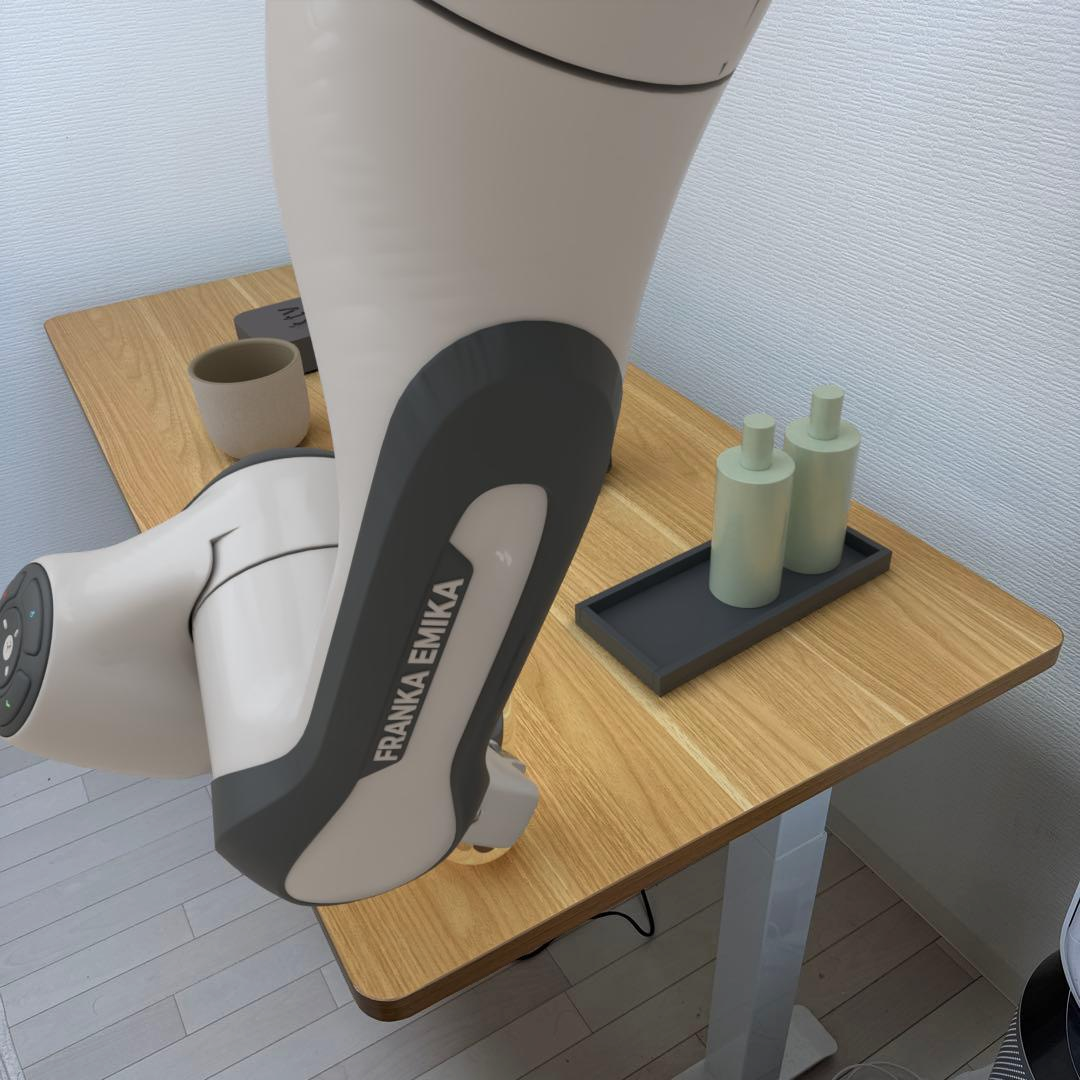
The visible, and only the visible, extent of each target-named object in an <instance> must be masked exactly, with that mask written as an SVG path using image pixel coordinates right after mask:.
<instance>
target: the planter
mask: <svg viewBox="0 0 1080 1080" xmlns="http://www.w3.org/2000/svg"><path fill="white" fill-rule="evenodd" d="M187 374H188V379H189V382H190V385H191V389H192V392H193V394H194V398H195V401H196V405H197V409H198V411H199V416H200V418H201V421H202V423H203V427H204V430H205V431H206V434H207V435H208V437H209V438H210V440H211V442H212V443H213V445H215V447H216V448H217V449H218V450H219V451H221V452H222V453H224V454H225V455H227V456H228V457H230V458H234V459H237V460H241V459H243V458H245V457H247V456H249V455H252V454H254V453H257V452H260V451H265V450H269V449H276V448H288V447H298V445H300V444H301V442H302V441H303V440H304V438H305V437H306V435H307V433H308V430H309V427H310V423H311V404H310V398H309V392H308V387H307V382H306V377H305V373H304V371H303V366H302V360H301V356H300V352H299V349H298V348H297V347H296V346H295V345H294V344H292V343H290V342H288V341H285V340H281V339H275V338H250V339H242V340H238V339H236V340H232V341H228V342H224V343H221V344H217V345H215V346H213V347H210V348H208V349H205V350H204V351H202V352H201V353H199V354H198V355H196V356H195V357H194V358H193V359H192V360H191V361H190V362H189V364H188V365H187Z"/></svg>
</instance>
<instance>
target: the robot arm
mask: <svg viewBox="0 0 1080 1080" xmlns="http://www.w3.org/2000/svg"><path fill="white" fill-rule="evenodd" d="M772 3H773V0H265V5H264V6H265V7H264V9H265V10H264V11H265V12H264V17H265V18H264V78H265V79H264V86H265V115H266V131H267V133H266V134H267V147H268V148H267V150H268V158H269V165H270V172H271V176H272V177H271V178H272V182H273V188H274V193H275V197H276V201H277V206H278V212H279V215H280V220H281V224H282V228H283V232H284V237H285V240H286V245H287V249H288V253H289V256H290V260H291V264H292V268H293V272H294V276H295V280H296V284H297V289H298V292H299V297H301V300H302V304H303V308H304V312H305V316H306V320H307V324H308V328H309V332H310V336H311V340H312V345H313V349H314V353H315V357H316V361H317V366H318V369H317V370H318V374H319V375H318V376H319V379H320V384H321V388H322V393H323V397H324V403H325V408H326V412H327V413H326V414H327V418H328V423H329V429H330V434H331V441H332V446H333V450H331V449H330V450H329V449H324V448H317V447H307V446H306V447H304V446H303V447H302V446H301V447H300V446H296V447H288V448H276V449H269V450H265V451H260V452H257V453H254V454H252V455H249V456H247V457H245V458H243V459H241V460H240V459H238V460H237V461H236V462H234V463H232V464H230V465H229V466H227V467H226V468H225V469H223V470H222V471H221V472H219V473H218V474H217V475H216V476H214V477H213V478H212V479H211V480H210V481H209V482H208V483H207V484H206V485H205V486H204V487H203V488H201V490H200V491H199V492H198V493H197V494H196V495H195V496H194V497H193V498H192V499H190V501H189V502H188V503H187V504H186V505H185V506H184V507H183V508H182V510H181V511H179V513H177V514H175V515H173V516H171V517H170V518H168V519H166V520H163V522H161V523H159V524H156V525H154V526H153V527H151V528H149V529H147V530H145V531H143V532H141V533H139V534H136V535H135V536H132V537H131V538H128V539H126V540H124V541H121V542H119V543H116V544H113V545H110V546H106V547H101V548H98V549H92V550H83V551H73V552H72V551H71V552H57V553H52V554H46V555H42V556H39V557H37V558H34V559H33V560H31V561H29V562H28V563H26V564H25V565H24V566H23V567H22V568H21V569H20V570H19V571H18V572H17V574H16V575H15V576H14V578H13V579H12V580H11V581H10V582H9V583H8V584H7V586H6V588H5V589H4V592H3V593H2V596H1V597H0V738H1V739H2V740H4V742H6V743H7V744H9V745H11V746H13V747H15V748H16V749H19V750H21V751H24V752H26V753H28V754H30V755H31V754H32V755H34V756H37V757H40V758H43V759H46V760H50V761H54V762H58V763H62V764H65V765H70V766H73V767H74V766H75V767H80V768H83V769H89V770H93V771H99V772H104V773H111V774H117V775H124V776H125V775H126V776H131V777H140V778H147V779H157V780H165V781H166V780H167V781H168V780H169V781H173V780H174V781H180V780H186V779H187V780H188V779H192V778H193V779H194V778H195V777H196V778H197V777H201V776H207V775H208V776H212V779H213V780H211V781H210V793H211V794H210V795H211V806H212V807H211V809H212V825H213V837H214V838H213V841H214V850H215V851H216V853H217V854H218V855H220V856H221V857H222V858H223V859H224V861H226V862H228V863H229V864H230V865H231V866H232V867H233V868H234V869H236V870H237V871H239V873H241V874H243V875H244V877H246V878H248V880H250V881H252V882H253V883H254V884H256V885H258V886H259V887H261V888H262V889H264V890H266V891H267V892H269V893H271V894H273V895H274V896H276V897H278V898H280V899H282V900H283V901H286V902H288V903H291V904H293V905H297V906H301V907H332V906H333V907H334V906H341V905H346V904H352V903H356V902H360V901H364V900H367V899H370V898H374V897H377V896H381V895H383V894H386V893H388V892H391V891H394V890H395V889H398V888H401V887H403V886H405V885H408V884H409V883H411V882H413V881H415V880H417V879H418V878H419V879H420V878H421V877H422V876H424V875H426V874H428V873H429V872H430V871H432V870H433V869H435V868H437V867H438V866H439V865H440V864H441V863H443V862H444V861H445V860H447V857H448V856H449V855H450V854H451V853H452V852H453V851H454V849H455V848H456V847H457V845H458V844H459V843H460V842H461V843H467V844H472V845H478V846H485V847H492V848H509V847H511V846H512V847H513V846H514V845H515V844H516V843H517V842H518V841H519V839H520V838H521V836H522V835H523V833H524V832H525V830H526V828H527V827H528V825H529V823H530V821H531V819H532V817H533V815H534V814H535V812H536V810H537V807H538V804H539V799H540V788H539V787H538V784H536V783H535V782H534V781H533V780H532V779H531V778H529V776H527V775H526V774H525V772H526V770H527V765H526V764H525V763H524V762H523V761H522V760H520V759H519V758H517V757H516V756H515V755H514V756H513V755H512V754H511V753H509V752H503V751H494V750H493V749H492V748H491V747H489V746H488V744H489V741H490V739H491V736H492V734H493V732H494V729H495V727H496V725H497V723H498V720H499V718H500V716H501V714H502V712H503V710H504V707H505V705H506V703H507V701H508V699H509V697H510V694H511V692H512V690H513V691H514V687H515V686H516V683H517V681H518V679H519V677H520V675H521V673H522V671H523V669H524V666H525V665H526V662H527V660H528V657H529V655H530V653H531V651H532V649H533V647H534V645H535V643H536V640H537V638H538V637H539V634H540V632H541V630H542V628H543V626H544V624H545V621H546V619H547V616H548V615H549V612H550V611H551V608H552V606H553V604H554V602H555V599H556V597H557V595H558V593H559V591H560V588H561V586H562V584H563V582H564V580H565V578H566V575H567V573H568V572H569V569H570V566H571V564H572V563H573V560H574V558H575V555H576V553H577V551H578V549H579V546H580V544H581V542H582V539H583V537H584V534H585V532H586V530H587V527H588V525H589V523H590V520H591V517H592V515H593V512H594V510H595V507H596V505H597V501H598V499H599V496H600V494H601V490H602V488H603V485H604V482H605V479H606V475H607V472H608V471H607V469H608V465H609V461H610V456H612V455H611V451H613V447H614V441H615V438H616V437H615V436H616V432H617V427H618V422H619V418H620V413H621V409H622V403H623V395H624V382H625V379H626V378H625V377H626V373H627V368H628V364H629V359H630V355H631V350H632V346H633V341H634V337H635V333H636V328H637V324H638V319H639V316H640V312H641V308H642V304H643V300H644V297H645V294H646V289H647V286H648V284H649V280H650V277H651V274H652V271H653V267H654V265H655V261H656V259H657V256H658V252H659V250H660V247H661V243H662V240H663V238H664V234H665V232H666V228H667V226H668V223H669V220H670V217H671V214H672V212H673V209H674V206H675V203H676V201H677V198H678V195H679V193H680V191H681V188H682V186H683V183H684V181H685V178H686V176H687V174H688V171H689V168H690V166H691V163H692V161H693V159H694V156H695V154H696V152H697V150H698V148H699V145H700V143H701V141H702V139H703V137H704V134H705V132H706V130H707V127H708V126H709V124H710V121H711V119H712V116H713V115H714V114H715V111H716V109H717V108H718V105H719V103H720V102H721V100H722V97H723V95H724V92H725V91H726V90H727V87H728V85H729V83H730V81H731V79H732V77H733V76H734V73H735V72H736V69H737V68H738V66H739V65H740V63H741V61H742V59H743V58H744V55H745V53H746V52H747V50H748V48H749V46H750V44H751V42H752V40H753V39H754V37H755V35H756V33H757V31H758V29H759V27H760V25H761V23H762V22H763V20H764V18H765V16H766V14H767V12H768V10H769V8H770V6H771V5H772ZM512 847H511V848H512Z"/></svg>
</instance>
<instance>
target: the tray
mask: <svg viewBox="0 0 1080 1080" xmlns="http://www.w3.org/2000/svg"><path fill="white" fill-rule="evenodd" d="M711 540H712V538H711V539H709V540H707V541H705V542H702V543H701V544H698V545H696V546H695V547H692V548H690V549H688V550H686V551H684V552H682V553H679V554H678V555H675V556H674V557H671V558H668V559H666V560H665V561H663V562H660V563H658V564H656V565H655V566H652V567H651V568H648V569H646V570H644V571H642V572H640V573H638V574H635V575H633V576H632V577H629V578H628V579H627V578H626V579H625V580H623V581H621V582H619V583H617V584H615V585H613V586H611V587H608V588H607V589H604V590H602V591H600V592H598V593H596V594H594V595H592V596H589V597H588V598H586V599H584V600H581V601H579V602H577V603H575V604H574V622H575V624H576V625H577V626H578V627H579V628H580V629H582V630H583V632H585V633H586V634H588V636H590V638H592V639H593V640H594V641H595V642H597V643H598V644H599V645H600V646H601V647H602V648H603V649H604V650H605V651H607V652H608V653H609V654H610V655H611V656H612V657H614V658H615V659H616V660H617V661H618V662H619V663H620V664H621V665H622V666H624V668H626V669H627V670H628V671H629V672H631V674H633V675H634V676H635V677H636V678H637V679H639V680H640V682H642V683H643V684H644V685H645V686H646V687H648V688H649V690H651V691H652V692H653V693H655V695H657V697H660V698H661V697H662V696H665V695H666V694H668V693H669V692H671V691H673V690H675V689H677V688H678V687H680V686H682V685H684V684H685V683H687V682H689V681H691V680H693V679H695V678H697V677H698V676H700V675H702V674H704V673H706V672H707V671H709V670H711V669H713V668H715V667H716V666H718V665H720V664H722V663H724V662H725V661H727V660H729V659H731V658H733V657H734V656H736V655H738V654H740V653H741V652H743V651H745V650H747V649H749V648H751V647H752V646H754V645H756V644H757V643H759V642H762V641H764V640H765V639H767V638H769V637H770V636H772V635H774V634H775V633H778V632H779V631H781V630H783V629H785V628H786V627H788V626H790V625H792V624H794V623H795V622H797V621H799V620H800V619H803V618H804V617H806V616H808V615H810V614H811V613H814V612H815V611H817V610H819V609H821V608H823V607H824V606H825V605H828V604H829V603H832V602H833V601H835V600H836V599H838V598H840V597H842V596H844V595H845V594H847V593H849V592H852V591H853V590H855V589H857V588H858V587H860V586H862V585H864V584H866V583H868V582H869V581H871V580H872V579H875V578H876V577H878V576H880V575H881V574H883V573H885V572H887V571H889V570H890V568H891V563H892V557H893V550H892V549H890V548H888V547H886V546H885V545H882V544H881V543H879V542H877V541H875V540H874V539H872V538H870V537H869V536H867V535H865V534H863V533H862V532H860V531H859V530H856V529H854V527H853V528H852V527H851V526H849V525H847V530H846V536H845V542H844V548H843V554H842V560H841V562H840V564H839V565H838V566H837V567H836V568H835V569H833V570H831V571H829V572H826V573H821V574H803V573H798V572H794V571H791V570H789V569H787V568H785V567H783V573H782V581H781V590H780V594H779V595H778V597H777V598H776V599H775V600H774V601H773V602H771V603H770V604H767V605H765V606H762V607H757V608H739V607H734V606H731V605H728V604H725V603H723V602H722V601H720V600H718V599H717V598H716V597H715V596H714V595H713V594H712V592H711V591H710V588H709V571H710V555H711Z"/></svg>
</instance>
